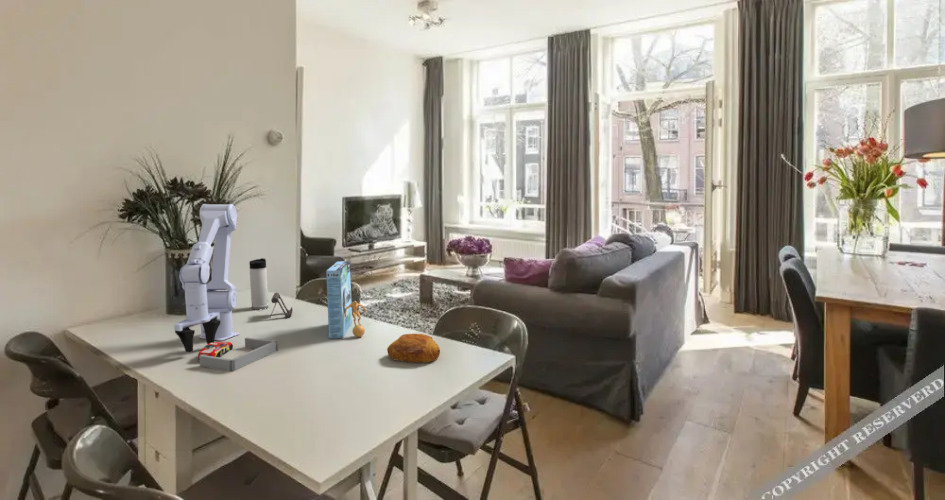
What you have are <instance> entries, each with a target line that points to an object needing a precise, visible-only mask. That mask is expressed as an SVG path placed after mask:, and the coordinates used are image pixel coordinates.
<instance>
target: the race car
mask: <svg viewBox="0 0 945 500" xmlns="http://www.w3.org/2000/svg"><path fill="white" fill-rule="evenodd" d="M233 347H234V344H233V343H232V342H231V341H217V342H215V341H214V342H212V343H209V344H207V343H206V345H205V346H204V347H203V348H202V349H200V351H198V354H197V360H198V361H199V362H200V359H199V356H201V355H207V356H213V357H220V358H222V356H223V355H225V354H227V353H228V352H230V351H232V350H233V349H234V348H233Z"/></svg>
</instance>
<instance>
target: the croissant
mask: <svg viewBox="0 0 945 500" xmlns="http://www.w3.org/2000/svg"><path fill="white" fill-rule="evenodd" d="M386 351H387V355H388V357H389V358H390V359H391V360H392V361H398V362H403V363H405V362H406V363H419V364H420V363H424V364H426V363H431V362H435V361H436V360H438V358H440V357H439V356H440V353H441V349H440V347H439V345H438V343H437V342H436V341H435V340H434V339H433V337H432V336H430V335H427V334H423V333H406V334H402V335H400V336H399V337H398V338H397V339H396V340H394V341H393V342H391V344H389V345H388V347H387V348H386Z"/></svg>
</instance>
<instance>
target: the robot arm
mask: <svg viewBox="0 0 945 500" xmlns="http://www.w3.org/2000/svg"><path fill="white" fill-rule="evenodd" d="M237 211H238V210H237V209H236V207H235V205H234V204H232V203H227V204H222V203H220V204H218V203H217V204H214V203H213V204H211V203H210V204H208V203H203V204H202V205H201V206H200V208H199V218H200V222H201V228H200V234H199V237H198V242H197V243H194V244H193V245H192V247H191V250H190V252H189V253H190V254H189V256H188V259H187V261H186V264H185V265H183V266H182V267H181V268H180V269H179V277H178V278H179V281H180V283H181V284H182V285H181V288H182V290H184V298H185V299H184V300H185V309H186V310H185V311H186V314H185V315H186V318H185V319H183V320H181V321H180V322H177V323H174V327H173V328H174V333H175V334H176V335H177V337H178V338H179V340H180V341H181V342H182V346H183V348H184V351H185V352H186V353H193V352H194V337H195V336H194V335H195V331H196V330H195V329H191V327H195V326H197V325H200V331H201V332H200V333H201V334H200V336H199V338H200V339H205V343H206V345H207V344H209V343H212V342H215V341H217V342H223V341H224V340H228V339H231V338H232V337H235V336H238V335H240V332H238V331H237V332H236V331H235V332H234V324H233V323H234V322H233V320H234V319H233V310H234V309H235V308H236V306H237V304H238V294H237V287H236V286H235V285H234V284H233V283H232V282H230V281H229V274H230V273H229V270H230V257H231V245H232V242H231V241H232V232H234V231H235V230H237V224H238V222H237V221H238V212H237ZM213 241H214V242H213ZM212 244H213V247H212V246H211V245H212ZM212 256H213V257H212ZM211 258H212V259H211ZM211 260H212V269H211V268H210V261H211ZM210 269H211V274H210ZM210 275H211V280H210V281H209V279H210ZM208 281H209V282H208Z"/></svg>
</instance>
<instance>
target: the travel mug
mask: <svg viewBox="0 0 945 500" xmlns="http://www.w3.org/2000/svg"><path fill="white" fill-rule="evenodd" d="M248 264H249V281H250V282H249V283H250V300H251V301H250V302H251V309H252V310H254V309H257V310H256V311H259V310H258V309H262V310H265V308H266V309H268V308H269V291H268V273H267V272H268V271H267V260H266V258H263V257H262V258H256V259H253V260H250V261H249V263H248Z"/></svg>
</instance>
